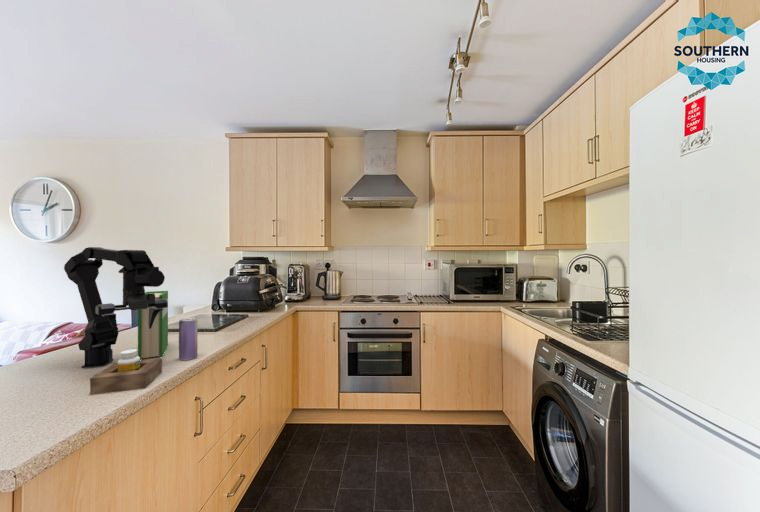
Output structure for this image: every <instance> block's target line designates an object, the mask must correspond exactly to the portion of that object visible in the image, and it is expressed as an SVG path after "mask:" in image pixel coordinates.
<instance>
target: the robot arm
mask: <svg viewBox="0 0 760 512" xmlns="http://www.w3.org/2000/svg"><path fill="white" fill-rule="evenodd" d="M103 261H109V262H115V263H116V264H117V265H118V266H121V267H122V268H121V269H119V270H118V273H119V274H122V304H113V303H111V302H110V303H109V302H108V303H103V301H102V298H101V294H100V291H99V287H98V285H97V281H96V280H97V278H98V277H99V274H100V271H99V269H100V268H101V267H102V266H103V264H104V263H103ZM159 268H160V267H159V266H155V265H154V263H153V261H152V260H151V258H150V257H149V255H148V254H147V251H145V250H143V249H142V250H139V249H120V250H117V249H112V248H111V249H109V248H103V247H99V246H95V247H94V246H89V247H86V248H84V249H83V250H82V251H81V252H79V253H76V254H75V255H73V256H71V257H70V258H69V259H68V260H67V261H66V263H65V264H64V266H63V269H64V272H65V274H66V275H67V278H68V279H69V280H70V281H71V282H73V283H75V284H76V286H77V289H78V292H79V297H80V298H81V299H80V300H81V303H82V306H83V309H84V313H85V316H86V319H87V324H86V326H85V328H84V331H83V332H84V336H83V338H82V339H81V340H80V341H79V343H78V344H77V345H78V349H79V351H84V364H83V365H82V366H81V368H82V369H84V368H93V367H94V368H95V367H105V366H106V365H108V364H109V363H111V362H112V361H114V358H113V356H114V355H113V349H112V348H111V347H112V345H116V344H117V342H118V341H117V340H118V337H119V333H120V332H119V327H118V325H117V324H118V323H117V313H115V311H116V312H117V311H126V310H130V311H138V309H147V308H148V307H151V308H149V321H148V326H149V329H151V327H152V325H153V322H154V320H155V317H156V316H157V314H158V313H159V312H160V311H161V310H163V308H167V307H168V308H169V301H168V302H167V300H165V299H155V294H154V293H153V294H147V295H146V294H145V292H146V288H145V287H147V288H148V287H151V288H153V287H154V288H158V287H161V286H162V285H163V284H164V282H165V280H166V279H165V275H164V273H163V271H161V270H160V269H159Z"/></svg>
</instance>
